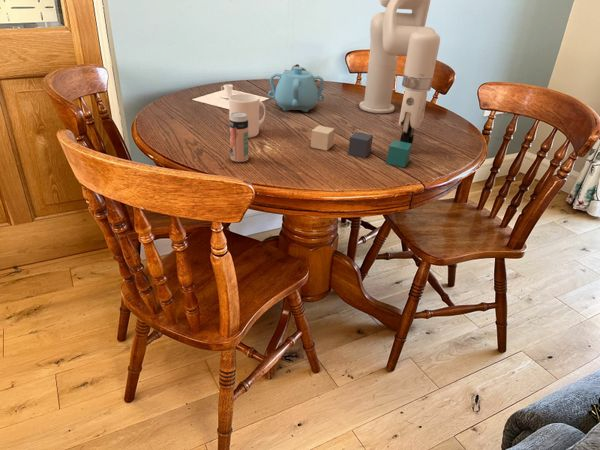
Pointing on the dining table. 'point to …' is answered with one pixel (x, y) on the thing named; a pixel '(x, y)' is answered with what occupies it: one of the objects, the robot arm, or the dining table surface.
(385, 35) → the robot arm
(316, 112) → the dining table surface
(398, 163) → the teal block
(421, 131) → the dining table surface
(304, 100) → the decorative pot
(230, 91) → the teacup and saucer
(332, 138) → the cream block
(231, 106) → the mug
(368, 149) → the slate block
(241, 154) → the supplement bottle
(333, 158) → the dining table surface
